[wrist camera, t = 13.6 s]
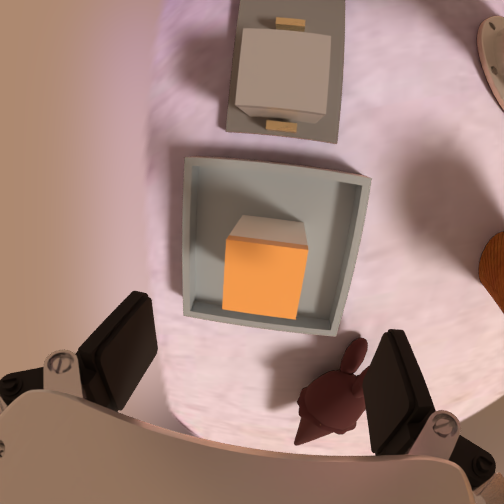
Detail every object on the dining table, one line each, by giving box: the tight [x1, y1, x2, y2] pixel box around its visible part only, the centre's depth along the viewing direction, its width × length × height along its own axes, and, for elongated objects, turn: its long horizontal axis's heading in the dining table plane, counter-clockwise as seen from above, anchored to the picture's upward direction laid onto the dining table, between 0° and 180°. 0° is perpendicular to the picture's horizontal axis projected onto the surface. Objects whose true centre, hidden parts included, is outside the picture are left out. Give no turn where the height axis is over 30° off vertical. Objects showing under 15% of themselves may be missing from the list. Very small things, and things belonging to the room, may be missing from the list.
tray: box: [182, 156, 372, 337], centre depth 22 cm, size 13×13×2 cm
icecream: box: [294, 338, 369, 445], centre depth 25 cm, size 7×7×15 cm
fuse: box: [235, 28, 331, 124], centre depth 15 cm, size 5×5×6 cm
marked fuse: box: [222, 215, 309, 320], centre depth 19 cm, size 5×5×6 cm
